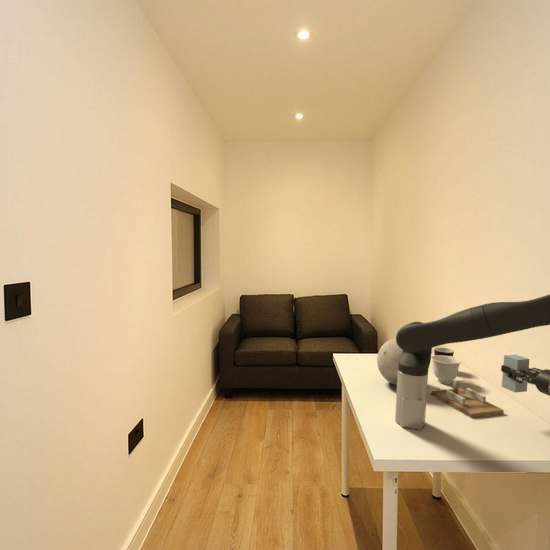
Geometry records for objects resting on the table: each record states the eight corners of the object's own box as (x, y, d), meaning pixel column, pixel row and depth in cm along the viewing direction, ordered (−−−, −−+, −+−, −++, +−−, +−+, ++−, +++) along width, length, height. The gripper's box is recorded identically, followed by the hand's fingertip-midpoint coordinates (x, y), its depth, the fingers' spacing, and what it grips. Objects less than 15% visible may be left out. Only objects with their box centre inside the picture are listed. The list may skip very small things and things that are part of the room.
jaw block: (526, 391, 118) (529, 359, 117) (515, 392, 117) (517, 359, 116) (513, 385, 123) (515, 354, 122) (501, 386, 121) (504, 355, 121)
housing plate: (503, 414, 125) (504, 396, 125) (471, 417, 122) (472, 399, 121) (459, 391, 145) (461, 376, 144) (430, 394, 141) (432, 378, 140)
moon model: (418, 399, 136) (421, 347, 135) (368, 385, 148) (370, 338, 147) (431, 384, 152) (434, 338, 151) (385, 373, 164) (387, 330, 163)
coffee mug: (451, 374, 165) (452, 353, 164) (431, 370, 169) (432, 350, 168) (454, 368, 174) (455, 348, 174) (435, 364, 179) (436, 345, 178)
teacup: (465, 379, 158) (466, 358, 158) (455, 389, 147) (456, 365, 147) (436, 373, 166) (438, 352, 166) (425, 381, 155) (427, 358, 155)
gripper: (578, 372, 107) (525, 355, 123) (542, 375, 103) (492, 357, 120) (576, 396, 108) (523, 376, 124) (540, 400, 104) (490, 379, 120)
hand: (508, 367), depth 122 cm, fingers closed on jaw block, 5 cm apart
